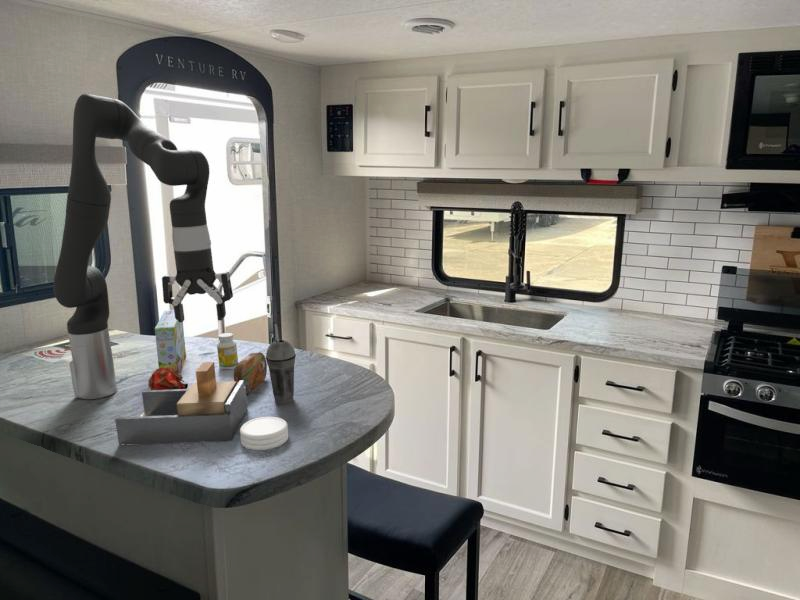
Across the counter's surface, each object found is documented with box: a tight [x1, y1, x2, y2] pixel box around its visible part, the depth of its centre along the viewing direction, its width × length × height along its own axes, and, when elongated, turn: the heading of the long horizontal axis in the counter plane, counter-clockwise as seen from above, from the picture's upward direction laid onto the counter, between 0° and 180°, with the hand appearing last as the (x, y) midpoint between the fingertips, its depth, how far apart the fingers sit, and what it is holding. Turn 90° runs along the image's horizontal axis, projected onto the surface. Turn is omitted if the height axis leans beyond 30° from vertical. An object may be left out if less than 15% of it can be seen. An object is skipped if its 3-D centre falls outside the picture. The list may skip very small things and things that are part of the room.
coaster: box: [239, 416, 289, 451], centre depth 132 cm, size 10×10×4 cm
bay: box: [114, 380, 248, 446], centre depth 138 cm, size 24×16×8 cm, turn 92°
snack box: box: [154, 309, 187, 375], centre depth 177 cm, size 21×6×15 cm, turn 14°
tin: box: [233, 351, 268, 395], centre depth 161 cm, size 15×3×8 cm, turn 168°
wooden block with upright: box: [177, 361, 237, 415], centre depth 138 cm, size 10×12×13 cm
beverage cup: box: [265, 323, 297, 405], centre depth 150 cm, size 7×7×20 cm
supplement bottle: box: [216, 332, 239, 370], centre depth 177 cm, size 5×5×10 cm
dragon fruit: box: [148, 367, 189, 390], centre depth 156 cm, size 8×8×12 cm
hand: (201, 320), depth 134 cm, fingers open, 8 cm apart
